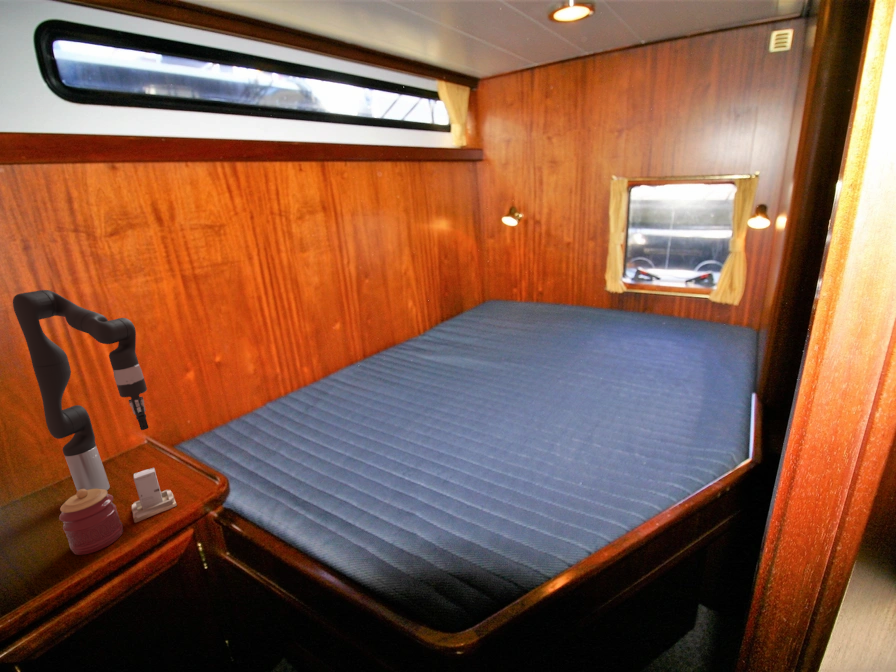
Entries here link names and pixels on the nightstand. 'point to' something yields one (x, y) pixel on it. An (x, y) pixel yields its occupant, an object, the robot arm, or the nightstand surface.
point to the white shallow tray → (153, 507)
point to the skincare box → (148, 488)
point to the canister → (90, 521)
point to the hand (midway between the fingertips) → (144, 428)
